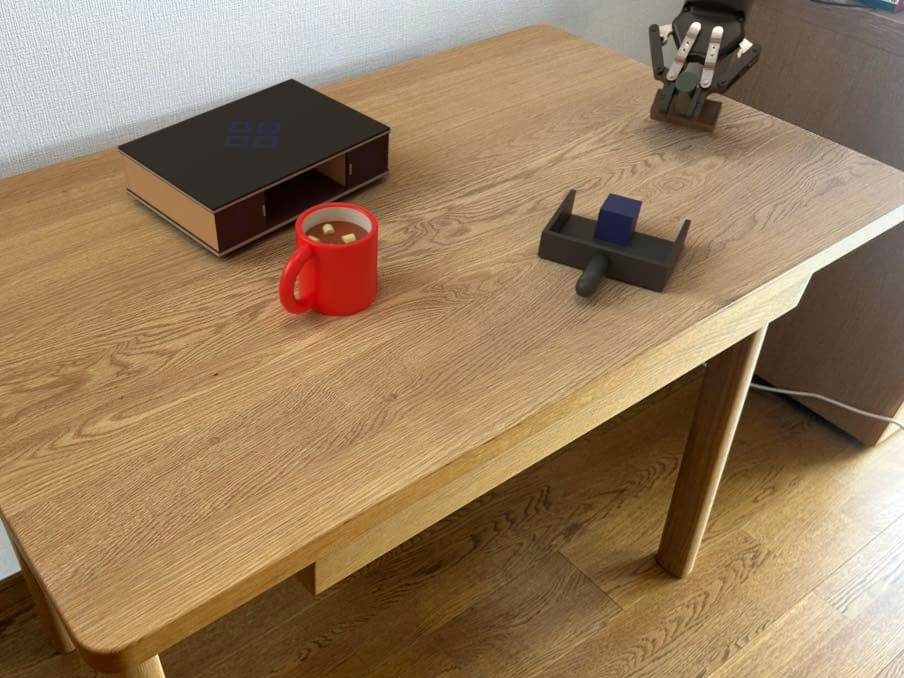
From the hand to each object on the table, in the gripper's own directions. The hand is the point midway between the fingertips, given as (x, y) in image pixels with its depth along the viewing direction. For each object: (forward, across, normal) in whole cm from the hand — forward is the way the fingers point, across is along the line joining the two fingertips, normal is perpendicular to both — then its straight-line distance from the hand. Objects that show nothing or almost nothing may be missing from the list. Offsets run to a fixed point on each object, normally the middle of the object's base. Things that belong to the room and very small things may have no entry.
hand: (675, 118), depth 103 cm
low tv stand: (+25, -40, -17) cm, 50 cm away
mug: (+35, -23, -28) cm, 50 cm away
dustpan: (+22, 0, -14) cm, 26 cm away
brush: (-4, 0, +9) cm, 10 cm away
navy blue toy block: (+15, -1, -10) cm, 18 cm away
